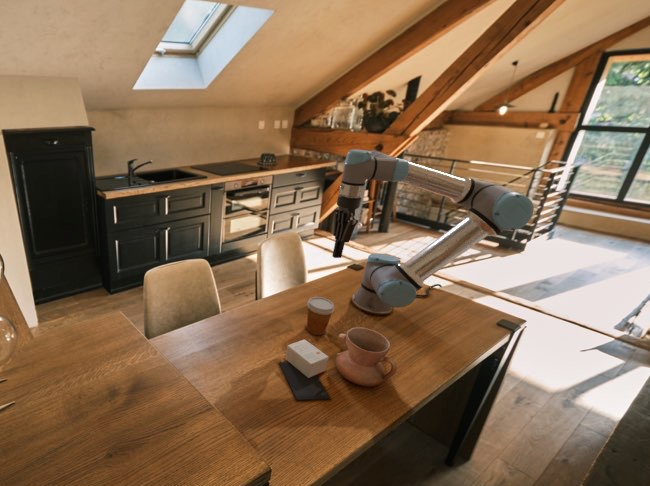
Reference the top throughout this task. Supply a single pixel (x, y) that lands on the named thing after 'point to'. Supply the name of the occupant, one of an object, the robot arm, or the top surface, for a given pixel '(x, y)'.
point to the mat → (303, 384)
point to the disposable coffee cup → (318, 314)
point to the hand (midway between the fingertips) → (336, 256)
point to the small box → (306, 358)
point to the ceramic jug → (364, 357)
